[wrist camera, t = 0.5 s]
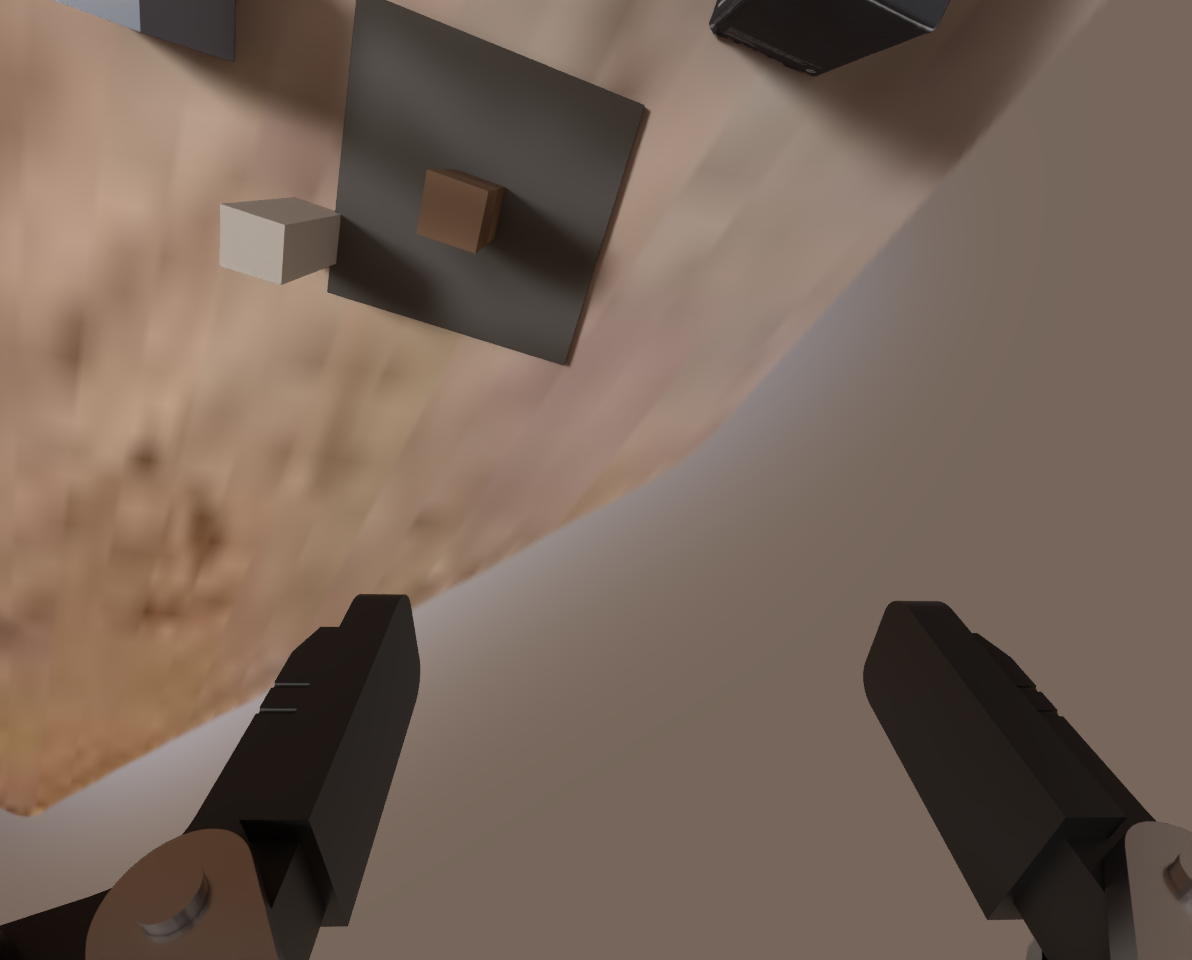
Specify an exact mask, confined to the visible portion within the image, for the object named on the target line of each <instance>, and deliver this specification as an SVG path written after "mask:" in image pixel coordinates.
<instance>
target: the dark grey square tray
mask: <svg viewBox="0 0 1192 960" xmlns="http://www.w3.org/2000/svg"><path fill="white" fill-rule="evenodd" d="M644 106H645V105H643V104H640V103H638V102H635V101H633V100H630V99H628V98H625V97H623V96H620V95H618V94H615V93H613V92H611V91H608V90H606V89H603V88H601V87H598V86H596V85H593V84H591V83H588V82H586V81H583V80H581V79H579V78H576V77H574V76H571V75H569V74H566V73H564V72H561V71H559V70H556V69H554V68H552V67H549V66H547V65H544V64H542V63H539V62H537V61H534V60H532V59H529V58H527V57H524V56H522V55H520V54H517V53H515V52H512V51H510V50H507V49H505V48H502V47H500V46H497V45H495V44H492V43H490V42H488V41H485V40H483V39H480V38H478V37H475V36H473V35H470V34H468V33H465V32H463V31H460V30H458V29H456V28H453V27H451V26H448V25H446V24H443V23H441V22H438V21H436V20H433V19H431V18H429V17H426V16H424V15H421V14H419V13H416V12H414V11H411V10H409V9H406V8H404V7H401V6H399V5H397V4H394V3H392V2H389V1H387V0H356V9H355V19H354V29H353V39H352V49H351V59H350V69H349V79H348V89H347V99H346V109H345V119H344V129H343V139H342V149H341V159H340V170H339V180H338V190H337V200H336V210H335V213H338V214H341V219H340V229H339V239H338V248H337V258H336V264H334V265H331V266H330V270H329V280H328V290H327V292H328V293H331V294H335V295H338V296H341V297H344V298H348V299H351V300H354V301H357V302H361V303H364V304H367V305H370V306H373V307H377V308H380V309H383V310H386V311H390V312H393V313H396V314H399V315H403V316H406V317H409V318H412V319H415V320H419V321H422V322H425V323H428V324H432V325H435V326H438V327H441V328H445V329H448V330H451V331H454V332H457V333H461V334H464V335H467V336H470V337H474V338H477V339H480V340H483V341H487V342H490V343H493V344H496V345H499V346H503V347H506V348H509V349H512V350H516V351H519V352H522V353H525V354H529V355H532V356H535V357H538V358H541V359H545V360H548V361H551V362H554V363H558V364H561V365H564V364H565V360H566V357H567V354H568V351H569V347H570V344H571V341H572V338H573V335H574V331H575V328H576V325H577V322H578V318H579V315H580V312H581V309H582V306H583V302H584V299H585V296H586V293H587V289H588V286H589V283H590V280H591V277H592V273H593V270H594V267H595V264H596V261H597V257H598V254H599V251H600V248H601V244H602V241H603V238H604V235H605V232H606V228H607V225H608V222H609V219H610V215H611V212H612V209H613V206H614V203H615V199H616V196H617V193H618V190H619V186H620V183H621V180H622V177H623V174H624V170H625V167H626V164H627V161H628V157H629V154H630V151H631V148H632V145H633V141H634V138H635V135H636V132H637V128H638V125H639V122H640V119H641V116H642V112H643V109H644Z"/></svg>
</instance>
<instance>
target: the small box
mask: <svg viewBox="0 0 1192 960" xmlns="http://www.w3.org/2000/svg"><path fill="white" fill-rule="evenodd" d="M949 1H950V0H717V3H716V6H715V9H714V12H713V15H712V17H711V19H710V22H709V25H710V28H711V30H712V32H713V33H714V34H715V33H717V34H718V35H719V36H721V37H725V38H731V39H733V40H735V42H736V43H741V44H744V45H745V46H748V47H750V48H753V49H754V50H756V51H760V52H761V53H764V54H766V55H767V56H768V57H769V58H774V59H776V60H778V61H780V62H782V63H783V64H784V65H785V66H786V67H790V68H792V69H795V70H797V71H801V72H806V73H808V74H810V75H812V76H818V75H820V74H822V73H824V72H827V71H830V70H832V69H835V68H837V67H840V66H842V65H845V64H848V63H850V62H853V61H855V60H858V59H860V58H863V57H865V56H868V55H870V54H873V53H876V52H879V51H881V50H884V49H887V48H889V47H892V46H894V45H897V44H900V43H902V42H905V41H907V40H910V39H912V38H915V37H917V36H920V35H922V34H926V33H930V32H933V31H934V30H935V29H936V28H937V26H938V24H939V22H940V20H941V18H942V16H943V14H944V12H945V10H946V8H947V6H948V4H949Z"/></svg>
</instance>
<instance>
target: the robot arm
mask: <svg viewBox="0 0 1192 960" xmlns="http://www.w3.org/2000/svg"><path fill="white" fill-rule="evenodd" d="M863 681H864V687H865V692H866V696H867V698H868V701H869V703H870V705H871V707H872V709H873V711H874V712H875V714H876V716H877V718H878V720H879V722H880V724H881V725H882V727H883V729H884V731H885V732H886V735H887V736H888V738H889V740H890V742H891V744H892V746H893V747H894V749H895V751H896V753H897V755H898V757H899V758H900V760H901V762H902V764H903V766H904V768H905V769H906V771H907V773H908V775H909V777H910V778H911V780H912V782H913V784H914V786H915V788H916V789H917V792H918V793H919V795H920V797H921V799H922V801H923V802H924V804H925V806H926V808H927V810H928V812H929V814H930V815H931V817H932V819H933V821H934V823H935V825H936V826H937V828H938V830H939V832H940V834H941V836H942V837H943V839H944V841H945V843H946V845H947V847H948V849H949V850H950V852H951V854H952V856H953V858H954V860H955V861H956V863H957V865H958V867H959V869H960V871H961V872H962V874H963V876H964V878H965V880H966V882H967V883H968V885H969V887H970V889H971V891H972V893H973V894H974V896H975V898H976V900H977V902H978V904H979V906H980V907H981V909H982V911H983V913H984V915H985V917H986V918H987V920H1005V919H1006V920H1010V919H1011V920H1013V919H1024V921H1025V923H1026V924H1027V926H1028V928H1029V929H1030V931H1031V933H1032V934H1033V936H1034V938H1033V939H1032V941H1031V942H1030V944H1029V946H1028V948H1027V955H1026V960H1192V832H1190V831H1188V830H1186V829H1183V828H1181V827H1177V826H1174V825H1171V824H1167V823H1162V822H1157V821H1156V820H1155V819H1154V818H1153V817H1152V816H1151V815H1150V814H1149V813H1148V812H1147V811H1146V810H1145V809H1144V808H1143V806H1142V805H1141V804H1140V803H1139V802H1138V801H1137V800H1136V798H1135V797H1134V796H1133V795H1132V794H1131V793H1130V792H1129V791H1128V789H1127V788H1126V787H1125V786H1124V785H1123V784H1122V783H1121V782H1120V780H1119V779H1118V778H1117V777H1116V776H1115V775H1114V774H1113V773H1112V771H1111V770H1110V769H1109V768H1108V767H1107V766H1106V765H1105V763H1104V762H1103V761H1102V760H1101V759H1100V758H1099V757H1098V755H1097V754H1096V753H1095V752H1094V751H1093V750H1092V749H1091V748H1090V746H1089V745H1088V744H1087V743H1086V742H1085V741H1084V740H1083V739H1082V737H1081V736H1080V735H1079V734H1078V733H1077V732H1076V731H1075V729H1074V728H1073V727H1072V726H1071V725H1070V724H1069V723H1068V721H1067V720H1066V719H1065V718H1064V717H1063V716H1062V717H1061V716H1058V714H1057V709H1056V708H1055V707H1054V706H1053V704H1052V703H1051V702H1050V701H1049V700H1048V699H1047V698H1046V697H1045V696H1044V694H1043V693H1042V692H1037V690H1036V685H1035V684H1034V683H1033V682H1032V681H1031V680H1030V679H1029V677H1028V676H1027V675H1026V674H1025V673H1024V672H1023V671H1022V670H1021V668H1020V667H1019V666H1018V665H1017V664H1016V663H1015V661H1014V660H1013V659H1012V658H1011V657H1010V656H1008V655H1007V654H1005V653H1004V652H1003V651H1001V650H1000V649H999V648H997V647H996V646H994V645H993V644H992V643H990V642H989V641H987V640H986V639H985V638H983V637H982V636H980V635H979V634H978V633H971V632H970V630H969V629H968V628H967V627H966V626H965V625H964V623H963V622H962V621H961V620H960V619H959V617H958V616H957V615H956V614H955V613H954V611H953V610H952V609H951V608H950V607H949V606H947V605H946V604H945V603H943V602H939V601H894V602H891V603H890V604H889V605H888V606H887V608H886V610H885V612H884V615H883V617H882V620H881V623H880V625H879V628H878V631H877V633H876V636H875V638H874V641H873V644H872V646H871V649H870V652H869V654H868V657H867V660H866V662H865V665H864V671H863ZM419 682H420V659H419V654H418V647H417V641H416V635H415V628H414V622H413V616H412V610H411V604H410V600H409V598H408V596H407V595H392V594H359V595H357V596H356V597H355V598H354V600H353V602H352V603H351V605H350V607H349V609H348V611H347V613H346V615H345V617H344V619H343V621H342V623H341V625H340V626H339V627H320V628H319V629H318V630H317V631H315V632H314V633H313V634H312V635H311V636H310V637H309V638H307V639H306V640H305V641H304V642H303V643H302V644H301V645H300V646H298V647H297V648H296V649H295V650H294V651H293V652H292V653H291V655H290V657H289V658H288V660H287V662H286V663H285V665H284V667H283V669H282V670H281V672H280V674H279V675H278V677H277V679H276V680H275V686H274V688H271V689H270V691H269V692H268V694H267V696H266V697H265V699H264V701H263V703H262V704H261V706H260V712H259V714H256V715H255V716H254V718H253V720H252V721H251V723H250V725H249V726H248V728H247V730H246V732H245V733H244V735H243V737H242V738H241V740H240V742H239V743H238V745H237V747H236V748H235V750H234V752H233V753H232V755H231V757H230V759H229V761H228V762H227V764H226V765H225V767H224V769H223V770H222V772H221V774H220V776H219V777H218V779H217V781H216V782H215V784H214V786H213V787H212V789H211V791H210V793H209V794H208V796H207V798H206V799H205V801H204V803H203V804H202V806H201V808H200V810H199V811H198V813H197V815H196V816H195V818H194V819H193V821H192V822H191V824H190V825H189V827H188V828H187V829H186V830H185V832H184V833H183V834H182V835H181V836H178V837H176V838H174V839H172V840H170V841H168V842H166V843H164V844H162V845H161V846H159V847H158V848H156V849H154V850H152V851H151V852H150V853H148V854H147V855H146V856H144V857H143V858H142V859H140V860H139V861H138V862H137V863H136V864H134V865H133V866H132V867H131V868H130V869H129V870H128V871H127V872H126V873H125V874H124V875H123V876H122V877H121V878H120V879H119V880H118V881H117V882H116V883H115V885H114V886H113V887H112V888H110V889H108V890H106V891H103V892H101V893H98V894H95V895H93V896H90V897H87V898H84V899H81V900H78V901H75V902H71V903H69V904H65V905H62V906H59V907H56V908H53V909H50V910H47V911H44V912H41V913H38V914H35V915H31V916H28V917H26V918H22V919H19V920H17V921H13V922H10V923H7V924H4V925H1V926H0V960H309V958H310V955H311V952H312V949H313V946H314V943H315V940H316V937H317V934H318V931H319V928H320V927H327V926H328V927H329V926H330V927H331V926H348V924H349V921H350V917H351V914H352V911H353V908H354V904H355V901H356V897H357V894H358V891H359V888H360V884H361V881H362V878H363V874H364V871H365V868H366V865H367V861H368V858H369V855H370V851H371V848H372V845H373V842H374V838H375V835H376V831H377V828H378V825H379V822H380V818H381V815H382V812H383V809H384V805H385V801H386V799H387V795H388V792H389V788H390V785H391V782H392V779H393V775H394V772H395V769H396V766H397V762H398V759H399V756H400V752H401V749H402V746H403V742H404V739H405V736H406V733H407V729H408V726H409V723H410V719H411V716H412V713H413V709H414V706H415V703H416V699H417V695H418V689H419Z"/></svg>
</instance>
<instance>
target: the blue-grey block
mask: <svg viewBox="0 0 1192 960" xmlns="http://www.w3.org/2000/svg"><path fill="white" fill-rule="evenodd" d="M54 1H57V2H60V3H62V4H65V5H68V6H71V7H73V8H76V9H79V10H81V11H84V12H87V13H90V14H92V15H95V16H98V17H100V18H103V19H106V20H109V21H111V22H114V23H117V24H119V25H122V26H125V27H128V28H130V29H133V30H136V31H138V32H141V33H144V34H148V35H151V36H154V37H157V38H160V39H163V40H166V41H170V42H173V43H176V44H179V45H182V46H185V47H188V48H192V49H195V50H198V51H201V52H204V53H207V54H210V55H214V56H217V57H220V58H223V59H226V60H229V61H232V62H234V21H235V0H54Z"/></svg>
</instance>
